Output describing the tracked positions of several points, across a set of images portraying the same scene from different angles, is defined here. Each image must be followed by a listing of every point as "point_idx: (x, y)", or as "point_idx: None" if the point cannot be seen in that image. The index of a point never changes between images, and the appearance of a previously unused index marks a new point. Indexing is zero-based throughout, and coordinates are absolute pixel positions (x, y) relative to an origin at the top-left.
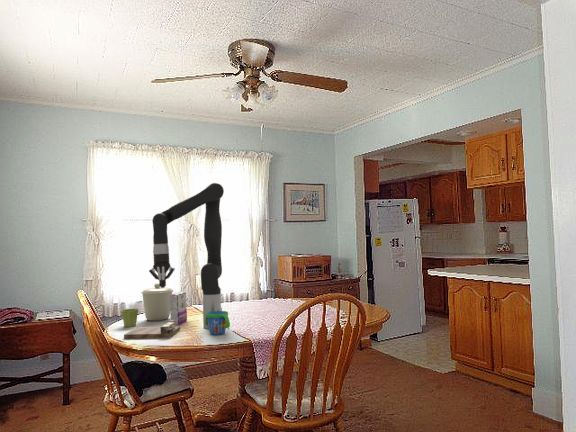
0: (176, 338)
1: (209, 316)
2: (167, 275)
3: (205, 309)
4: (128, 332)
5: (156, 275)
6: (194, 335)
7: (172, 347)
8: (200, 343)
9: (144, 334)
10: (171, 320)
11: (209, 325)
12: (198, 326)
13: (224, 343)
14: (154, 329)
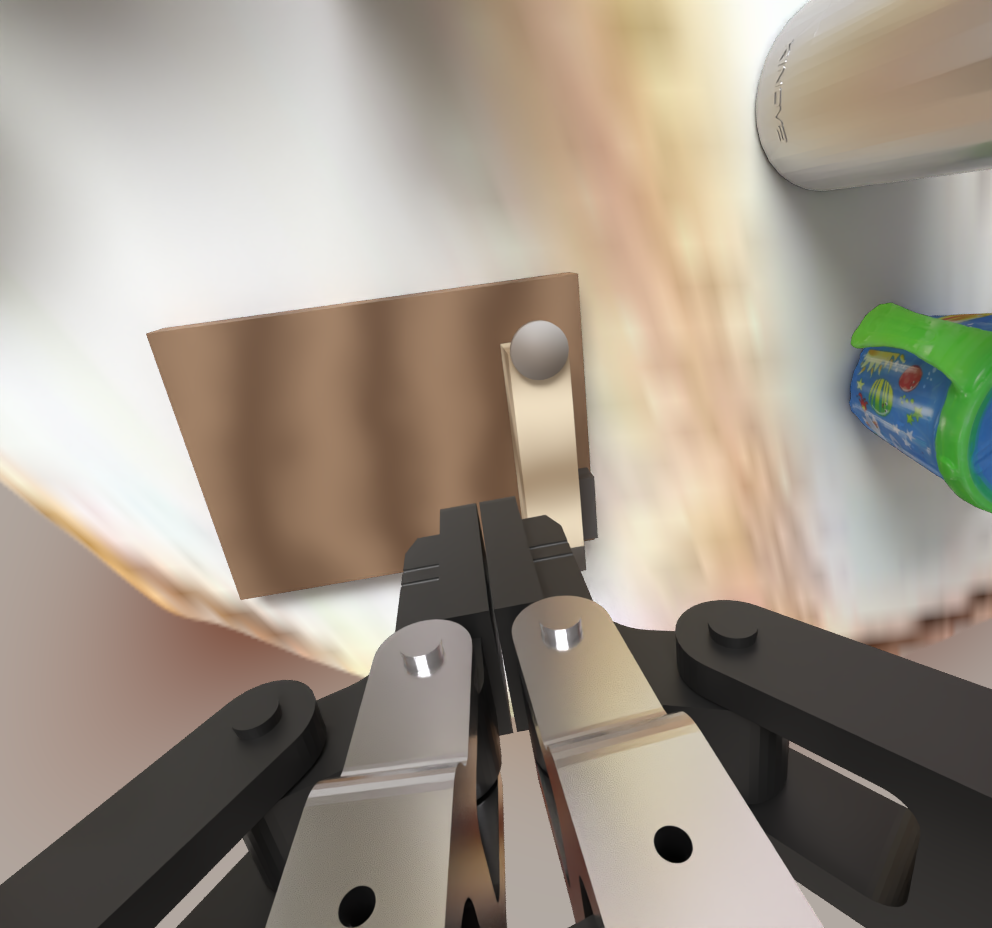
0: (636, 530)
1: (975, 506)
2: (806, 858)
3: (937, 153)
4: (222, 533)
5: (180, 873)
6: (738, 437)
7: None
8: (816, 621)
9: (402, 570)
10: (526, 337)
11: (902, 451)
12: (689, 45)
13: (946, 606)
14: (387, 410)
